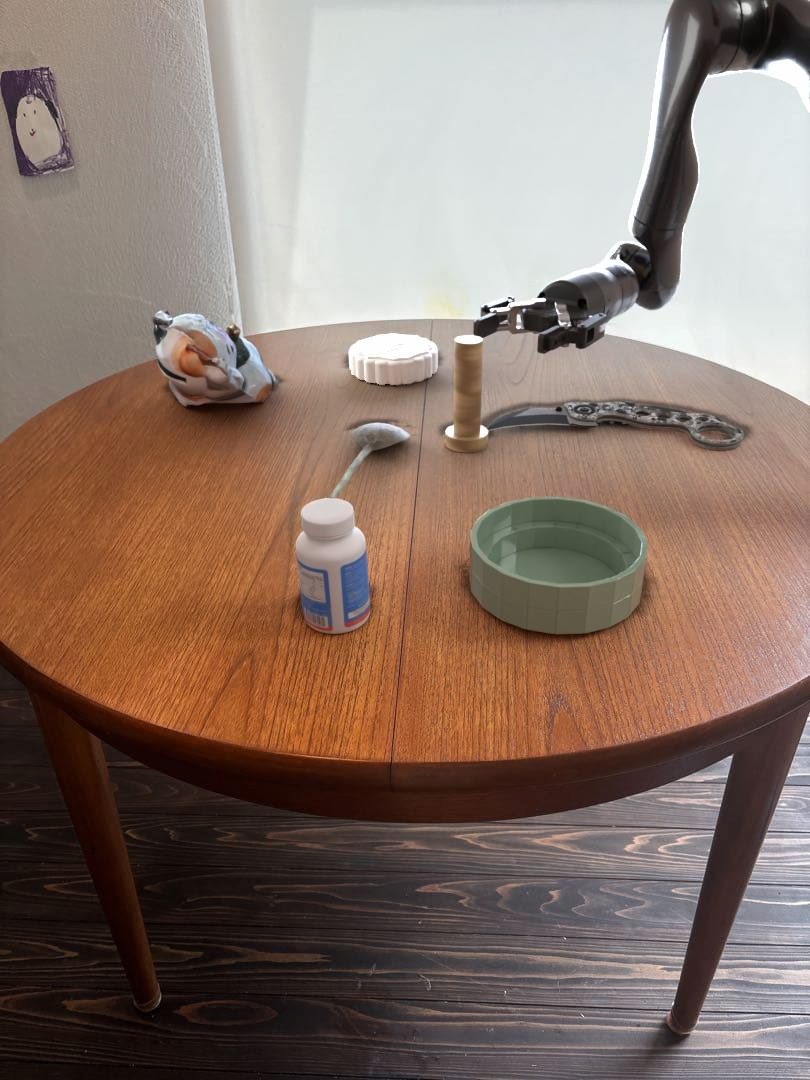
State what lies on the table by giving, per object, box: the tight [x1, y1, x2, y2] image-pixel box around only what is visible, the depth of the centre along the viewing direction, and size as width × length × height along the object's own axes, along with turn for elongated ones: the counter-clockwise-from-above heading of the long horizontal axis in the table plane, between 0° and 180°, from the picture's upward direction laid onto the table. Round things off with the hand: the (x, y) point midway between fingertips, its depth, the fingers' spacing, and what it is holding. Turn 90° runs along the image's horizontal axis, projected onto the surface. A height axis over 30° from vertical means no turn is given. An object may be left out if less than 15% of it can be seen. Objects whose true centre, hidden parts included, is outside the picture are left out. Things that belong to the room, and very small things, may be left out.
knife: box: [485, 400, 745, 451], centre depth 99 cm, size 28×2×10 cm
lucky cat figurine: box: [151, 309, 279, 406], centre depth 106 cm, size 15×12×14 cm
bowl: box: [468, 496, 649, 635], centre depth 71 cm, size 14×14×5 cm
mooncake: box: [348, 332, 439, 386], centre depth 117 cm, size 12×12×4 cm
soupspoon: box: [326, 422, 411, 499], centre depth 90 cm, size 22×3×7 cm
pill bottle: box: [295, 497, 371, 635], centre depth 67 cm, size 6×5×10 cm
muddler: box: [444, 334, 489, 454], centre depth 94 cm, size 5×5×12 cm
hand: (507, 337), depth 97 cm, fingers open, 8 cm apart
